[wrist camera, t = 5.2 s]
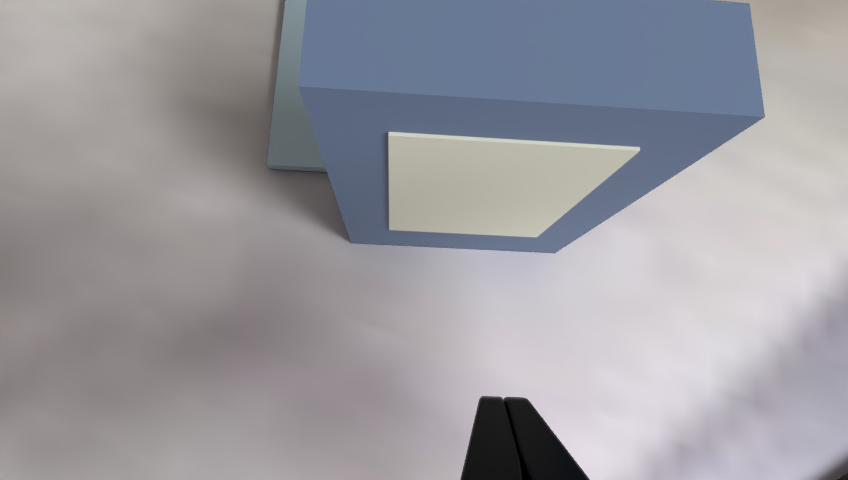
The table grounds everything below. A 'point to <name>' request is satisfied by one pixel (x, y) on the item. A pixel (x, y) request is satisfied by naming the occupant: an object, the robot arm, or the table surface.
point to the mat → (291, 102)
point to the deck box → (517, 111)
